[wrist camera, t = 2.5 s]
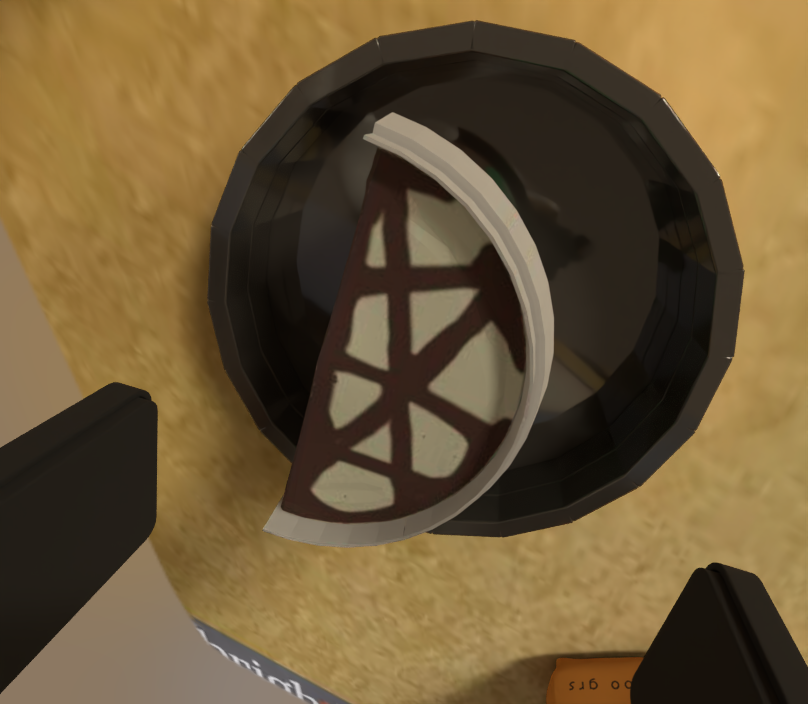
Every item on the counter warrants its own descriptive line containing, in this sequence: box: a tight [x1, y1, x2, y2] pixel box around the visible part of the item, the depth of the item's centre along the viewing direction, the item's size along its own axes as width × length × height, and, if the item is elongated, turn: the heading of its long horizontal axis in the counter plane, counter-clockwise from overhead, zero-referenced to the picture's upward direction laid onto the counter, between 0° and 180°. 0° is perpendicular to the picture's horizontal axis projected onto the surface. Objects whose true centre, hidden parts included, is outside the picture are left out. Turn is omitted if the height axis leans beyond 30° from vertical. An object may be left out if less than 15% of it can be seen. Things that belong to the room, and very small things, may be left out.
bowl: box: [207, 20, 744, 537], centre depth 21 cm, size 19×19×4 cm
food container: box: [263, 112, 554, 547], centre depth 17 cm, size 12×6×10 cm, turn 163°
